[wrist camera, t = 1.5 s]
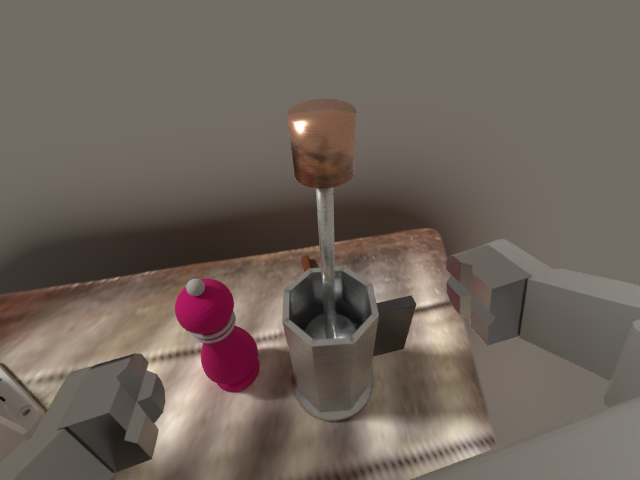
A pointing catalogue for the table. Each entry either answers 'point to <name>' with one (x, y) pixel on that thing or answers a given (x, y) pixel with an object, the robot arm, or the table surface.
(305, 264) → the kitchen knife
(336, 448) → the table surface
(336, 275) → the press
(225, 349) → the pepper mill
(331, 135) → the plunger
